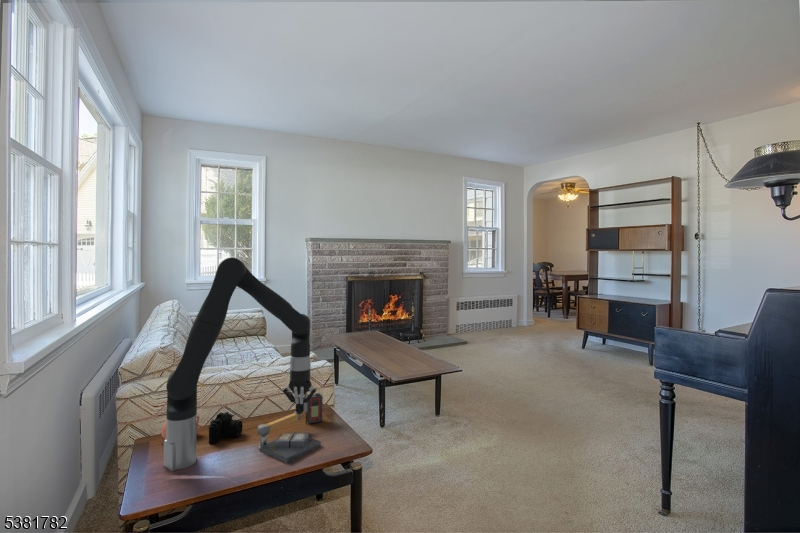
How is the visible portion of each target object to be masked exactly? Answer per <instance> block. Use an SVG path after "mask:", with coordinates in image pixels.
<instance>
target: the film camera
mask: <svg viewBox="0 0 800 533" xmlns="http://www.w3.org/2000/svg"><path fill="white" fill-rule="evenodd" d="M233 417H235V414H231V413H230V412H228V411H226V412H219V413H218V414H216V417H215V419H212V420H210V424H209V426H208V444H209V445H215V444H218V443H219V442H220V441H221V440H223V439H224V438H229V437H230V438H231V437H234V438H235V437H240V436H241V434H242V432H243V425H244V424H243V421H242V420H239V419H233Z"/></svg>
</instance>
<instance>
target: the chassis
mask: <svg viewBox="0 0 800 533" xmlns="http://www.w3.org/2000/svg"><path fill="white" fill-rule="evenodd" d="M321 443H322V442H321V441H320V440H318V439H315V438H312V437H310V436H309V433H308V432H307V433H306V432H305V433H303V432H300V433H299V432H296V431H292V432H281V433H280V434H279V435H278V436H277V439H275V440H272V441H269V442H267V444H265V445H262V446H260V449H259V452H260V453H262V454H264V455H266V456H269V457H271V458H273V459H276V460H278V461H280V462H282V463H285V464H290V463H291V462H293V461H295V460H297V459H299V458H301V457H303V456H305V455H307V454H309V453H310V452H312V451H314V450H316V449H318V448H320V447H321V446H322V444H321Z"/></svg>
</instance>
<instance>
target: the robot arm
mask: <svg viewBox="0 0 800 533" xmlns="http://www.w3.org/2000/svg"><path fill="white" fill-rule="evenodd" d="M213 278H214V279H213V281H212V285H211V287H210V290H209V292H208V294H207V296H206V297H205V300H204V301H203V303H202V305H201V307H200V308H199V311H198V313H197V314H196V317H195V318H194V321H193V323H192V325H191V329H190V330H189V333H188V336H187V339H186V343H185V348H184V350H183V353H182V356H181V359H180V360H179V362H178V365H177V367H176V368H175V370H174V371H172V372H171V373H170V375H169V376H168V378H167V381H166V388H165V389H166V393H167V394H166V420H167V431H166V439H164V440H163V467H165V468H166V469H168V470H169V471H171V472H174V471H176V470H183V469H186V468H189V467H191V466H193V465H194V464H195V463H196V462H197V440H198V439H197V438H198V437H197V436H198V435H197V431H198V430H197V428H198V426H197V415H198V414H197V413H198V382H199V379H200V376H201V373H202V370H203V367H204V364H205V362H206V360H207V358H208V356H209V355H210V353H211V351H212V349H213V348H214V345H215V344H216V342H217V339H218V338H219V335H220V333H221V331H222V328H223V326H224V324H225V321H226V317H227V314H228V311H229V307H230V306H229V304H230V301H231V298H232V296H233V294H234V292H235V290H236V288H237V287H238V288H239V289H241V290H242V291H243V292H246V293H247V294H248V295H249V296H250V297H251V298H253V300H255V301H256V302H257V303H258V304H259V305H260V306H262V307H263V308H264V309H265V310H266V311H268V312H269V313H270V314H271V315H273V317H275V318H277V319H278V320H279V321H281V322H282V323H283V324H284V326H286V327H287V328H288V329H289V330H290V331H291V344H290V360H289V361H290V362H289V383H288V386H286V387H284V388H283V390H282V392H283V394H284V395H285V396H286V397H287V399H288V400H289V401H290V403H294V404H295V411H296V412H297V414H300V415H302V413H303V412H305V410H304V403H307V402H308V401H309V400H310V398H311V397H312V396H313V395H315V394H316V393H317V390H318V387H315V386H313V385H312V384H313V383H312V381H311V368H312V367H311V366H312V364H311V345H310V335H311V334H310V333H311V320H310V318H309V316H307V314H304V313H300V312H299V311H298V310H296V309H295V308H294V307H293V306H292V304H291V303H290V302H289V301H288V300H286V299H285V298H283V297H282V296H281V295H280V294H278V293H277V292H276V291H275V290H274V289H272V288H270V287H269V286H267V285H266V284H264V283H263V282H261V280H259V279H258V278H257V277H256V276H255V275H254V274H253V273H252V272H251V271H250V270H249V269H248V268H247V267H246V265H245V263H244V262H243V261H241V260H240V259H238V258H237V257H231V256H230V257H227V258H224V259H223V260H221V262H219V264H218V266H217V269H216V272H215V275H214V277H213ZM307 392H309V394H308V395H307ZM305 394H306V395H307V396H308V397H307V396H306V397H307V398H305Z"/></svg>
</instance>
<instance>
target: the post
mask: <svg viewBox="0 0 800 533" xmlns="http://www.w3.org/2000/svg"><path fill="white" fill-rule="evenodd" d="M259 437H260V438H259V439H260V440H259V442H260V444H259V445H257V450H260V446H262V445H265V444H267V443H268V434H267V435H259Z"/></svg>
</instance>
